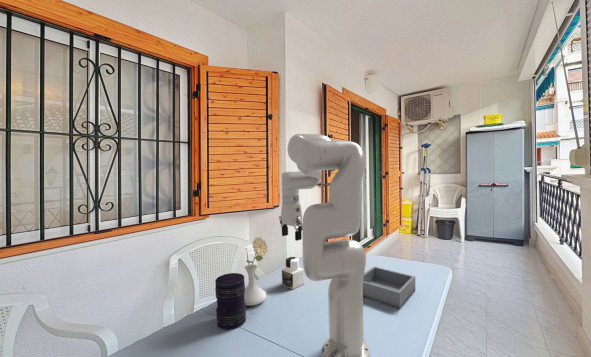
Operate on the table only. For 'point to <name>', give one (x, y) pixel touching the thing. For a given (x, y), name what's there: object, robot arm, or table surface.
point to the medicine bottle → (292, 273)
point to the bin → (388, 286)
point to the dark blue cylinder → (230, 301)
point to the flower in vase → (253, 292)
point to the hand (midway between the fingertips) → (291, 237)
